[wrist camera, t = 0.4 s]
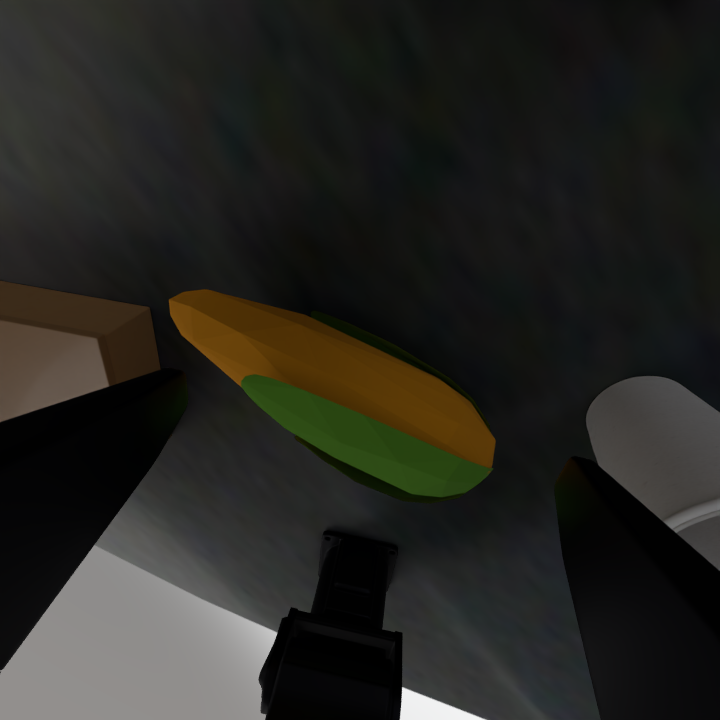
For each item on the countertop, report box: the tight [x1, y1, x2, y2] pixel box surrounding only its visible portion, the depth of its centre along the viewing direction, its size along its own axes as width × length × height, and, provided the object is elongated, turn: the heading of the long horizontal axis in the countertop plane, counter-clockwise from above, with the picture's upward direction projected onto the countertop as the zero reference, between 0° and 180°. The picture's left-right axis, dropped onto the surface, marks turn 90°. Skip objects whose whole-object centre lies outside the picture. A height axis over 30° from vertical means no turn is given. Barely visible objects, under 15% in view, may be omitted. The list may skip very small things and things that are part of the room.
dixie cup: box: [586, 376, 720, 571], centre depth 19 cm, size 8×8×10 cm
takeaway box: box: [0, 281, 172, 438], centre depth 27 cm, size 17×12×5 cm
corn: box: [169, 289, 496, 503], centre depth 22 cm, size 7×8×20 cm
